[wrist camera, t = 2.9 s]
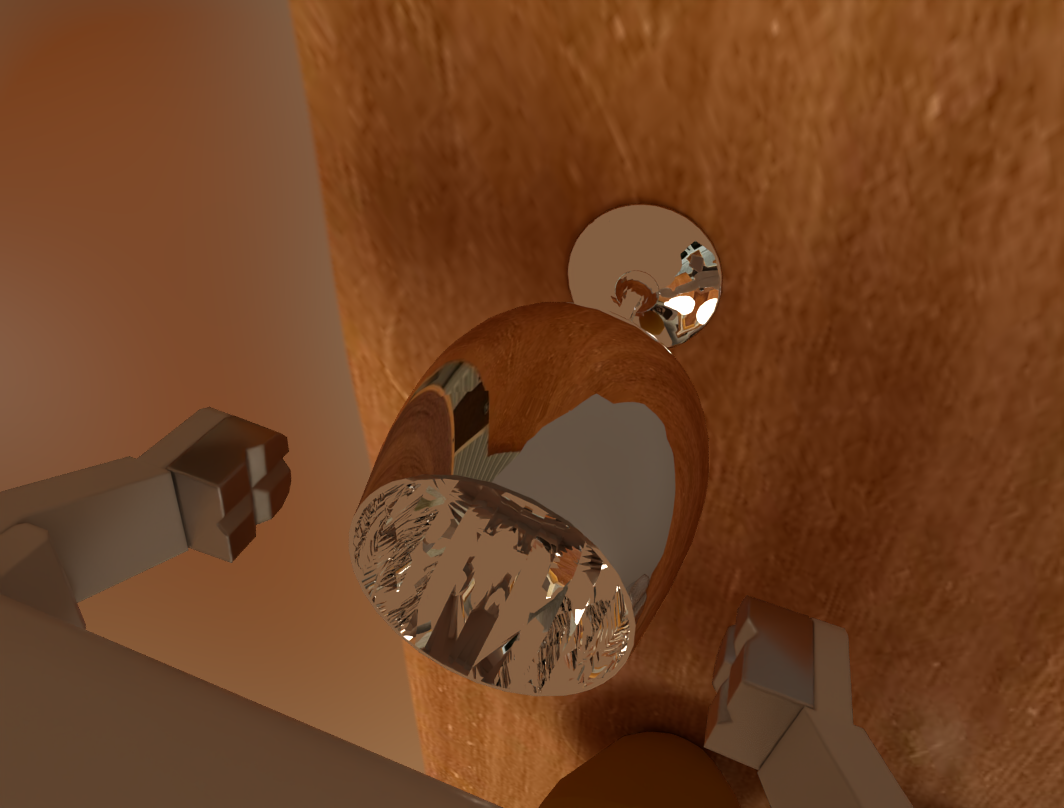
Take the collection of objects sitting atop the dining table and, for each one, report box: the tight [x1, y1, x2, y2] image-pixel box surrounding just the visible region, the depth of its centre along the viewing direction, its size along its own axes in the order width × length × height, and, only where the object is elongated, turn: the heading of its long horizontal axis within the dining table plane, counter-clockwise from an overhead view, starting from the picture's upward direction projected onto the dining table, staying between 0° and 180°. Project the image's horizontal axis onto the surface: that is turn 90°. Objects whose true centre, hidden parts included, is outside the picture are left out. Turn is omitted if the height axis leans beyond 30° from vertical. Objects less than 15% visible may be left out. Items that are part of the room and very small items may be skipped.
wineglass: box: [349, 203, 723, 696], centre depth 15 cm, size 6×6×12 cm
